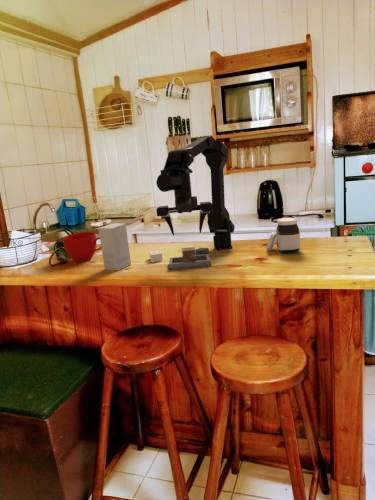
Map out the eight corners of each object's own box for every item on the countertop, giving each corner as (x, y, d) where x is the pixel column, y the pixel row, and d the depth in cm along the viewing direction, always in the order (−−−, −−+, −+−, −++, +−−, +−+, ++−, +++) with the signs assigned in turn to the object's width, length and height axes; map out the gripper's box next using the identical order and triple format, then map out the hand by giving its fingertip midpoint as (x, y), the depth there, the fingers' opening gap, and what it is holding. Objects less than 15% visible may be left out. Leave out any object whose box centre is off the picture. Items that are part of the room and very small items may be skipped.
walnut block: (195, 260, 142) (194, 246, 141) (196, 264, 138) (195, 249, 136) (183, 261, 142) (181, 248, 141) (183, 265, 138) (182, 251, 136)
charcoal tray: (209, 259, 144) (208, 254, 144) (211, 266, 135) (210, 260, 135) (170, 263, 144) (169, 257, 144) (169, 270, 135) (169, 264, 135)
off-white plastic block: (160, 257, 155) (159, 250, 154) (162, 261, 149) (161, 253, 148) (150, 259, 154) (149, 251, 153) (152, 262, 148) (151, 255, 148)
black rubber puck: (208, 255, 151) (208, 247, 150) (210, 258, 146) (209, 250, 146) (195, 256, 151) (195, 248, 150) (196, 259, 146) (195, 251, 145)
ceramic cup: (100, 263, 154) (96, 237, 152) (60, 264, 158) (56, 240, 156) (113, 254, 167) (109, 231, 164) (75, 256, 170) (72, 233, 168)
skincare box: (118, 263, 151) (113, 222, 147) (132, 264, 147) (127, 222, 144) (103, 270, 144) (97, 227, 140) (117, 271, 141) (111, 227, 137)
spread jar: (302, 253, 140) (301, 220, 137) (270, 256, 140) (268, 223, 137) (294, 246, 151) (293, 215, 149) (264, 248, 152) (262, 218, 149)
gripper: (153, 193, 126) (158, 241, 130) (212, 187, 126) (216, 235, 130) (155, 190, 137) (160, 234, 141) (209, 184, 137) (213, 229, 141)
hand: (186, 233), depth 138 cm, fingers open, 9 cm apart
